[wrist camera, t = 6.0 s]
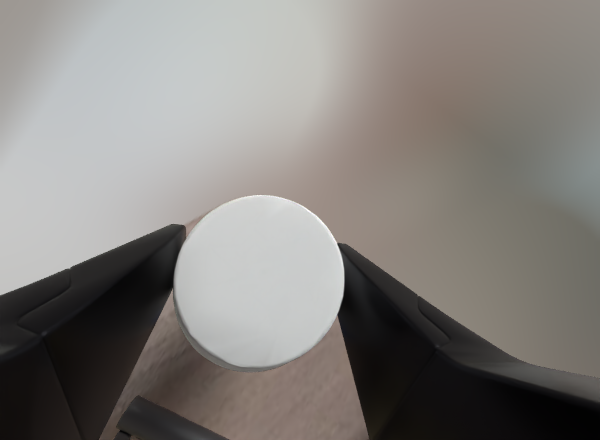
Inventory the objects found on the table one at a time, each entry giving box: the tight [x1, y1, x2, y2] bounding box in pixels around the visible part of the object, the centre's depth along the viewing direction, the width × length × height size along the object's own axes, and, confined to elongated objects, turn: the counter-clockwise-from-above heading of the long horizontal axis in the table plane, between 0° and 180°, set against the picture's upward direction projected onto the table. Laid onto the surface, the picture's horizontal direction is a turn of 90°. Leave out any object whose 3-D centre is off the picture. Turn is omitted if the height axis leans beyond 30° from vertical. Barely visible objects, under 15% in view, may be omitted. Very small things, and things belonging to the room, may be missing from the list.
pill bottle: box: [173, 195, 344, 372], centre depth 10 cm, size 6×5×10 cm
